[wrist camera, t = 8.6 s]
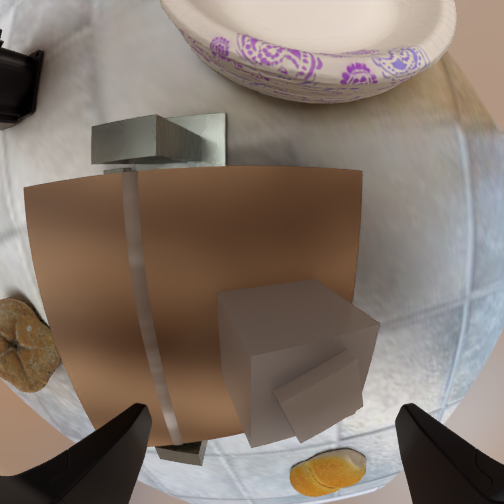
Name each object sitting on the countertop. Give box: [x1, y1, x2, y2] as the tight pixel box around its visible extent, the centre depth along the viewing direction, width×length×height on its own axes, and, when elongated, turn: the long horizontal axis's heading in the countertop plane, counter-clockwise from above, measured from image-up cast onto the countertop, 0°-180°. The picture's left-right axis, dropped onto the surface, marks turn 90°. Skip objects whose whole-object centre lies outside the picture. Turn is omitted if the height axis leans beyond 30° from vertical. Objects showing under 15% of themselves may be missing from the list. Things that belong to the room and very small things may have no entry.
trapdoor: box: [24, 166, 362, 447], centre depth 16 cm, size 16×16×6 cm
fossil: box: [0, 298, 61, 393], centre depth 20 cm, size 9×4×10 cm
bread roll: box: [290, 449, 366, 497], centre depth 24 cm, size 8×9×4 cm
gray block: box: [217, 279, 380, 448], centre depth 11 cm, size 5×5×6 cm
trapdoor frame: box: [91, 113, 227, 466], centre depth 16 cm, size 23×8×8 cm, turn 0°
